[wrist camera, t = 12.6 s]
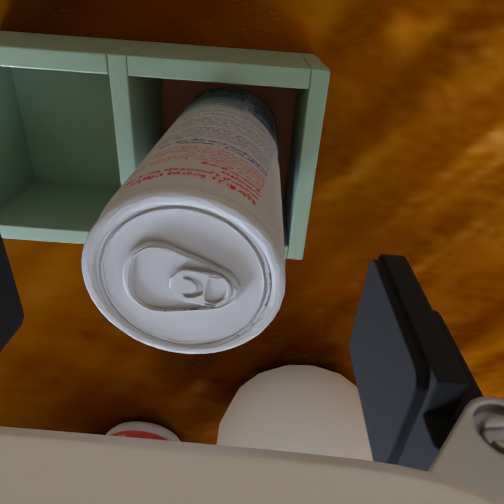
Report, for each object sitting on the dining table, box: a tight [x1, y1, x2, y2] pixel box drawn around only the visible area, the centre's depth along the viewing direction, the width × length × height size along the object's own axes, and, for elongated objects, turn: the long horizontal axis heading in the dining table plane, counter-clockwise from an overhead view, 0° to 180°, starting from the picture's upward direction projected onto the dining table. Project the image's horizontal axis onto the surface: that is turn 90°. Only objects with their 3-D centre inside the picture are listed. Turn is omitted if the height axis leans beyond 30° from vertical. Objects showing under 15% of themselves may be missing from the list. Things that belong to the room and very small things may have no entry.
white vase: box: [217, 365, 373, 461], centre depth 31 cm, size 13×13×14 cm
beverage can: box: [82, 86, 286, 354], centre depth 17 cm, size 6×6×15 cm
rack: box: [0, 31, 330, 260], centre depth 22 cm, size 17×9×7 cm, turn 86°
